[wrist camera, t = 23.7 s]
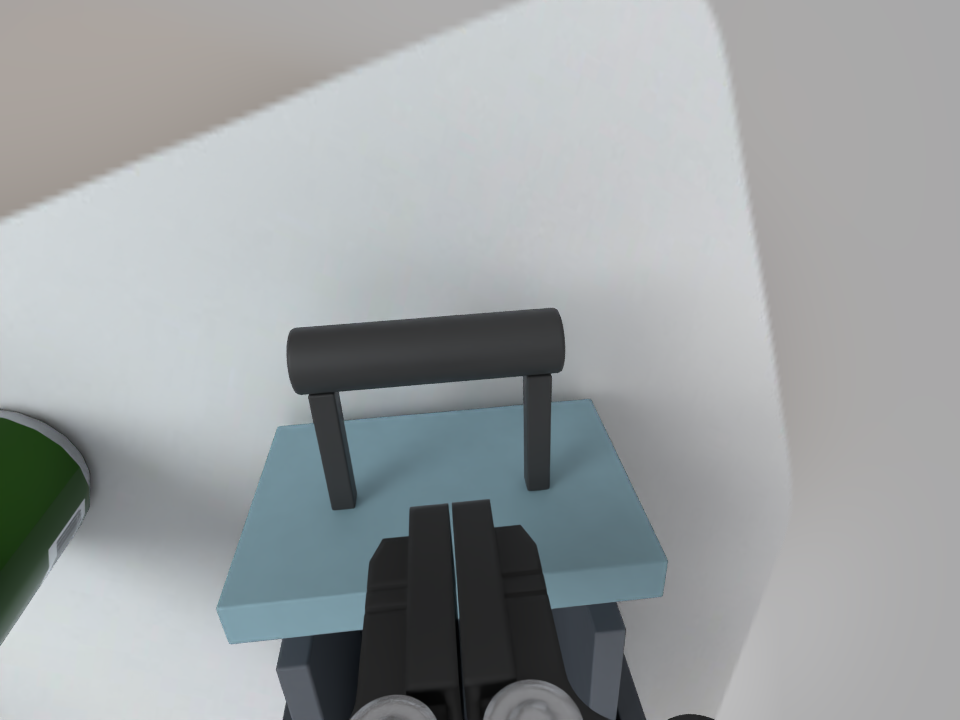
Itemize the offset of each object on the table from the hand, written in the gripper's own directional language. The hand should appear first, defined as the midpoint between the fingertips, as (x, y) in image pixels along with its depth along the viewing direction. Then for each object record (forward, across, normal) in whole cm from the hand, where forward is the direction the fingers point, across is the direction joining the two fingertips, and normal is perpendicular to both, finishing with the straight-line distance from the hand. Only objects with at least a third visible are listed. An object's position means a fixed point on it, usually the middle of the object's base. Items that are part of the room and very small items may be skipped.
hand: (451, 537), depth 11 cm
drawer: (+8, 0, +5) cm, 9 cm away
